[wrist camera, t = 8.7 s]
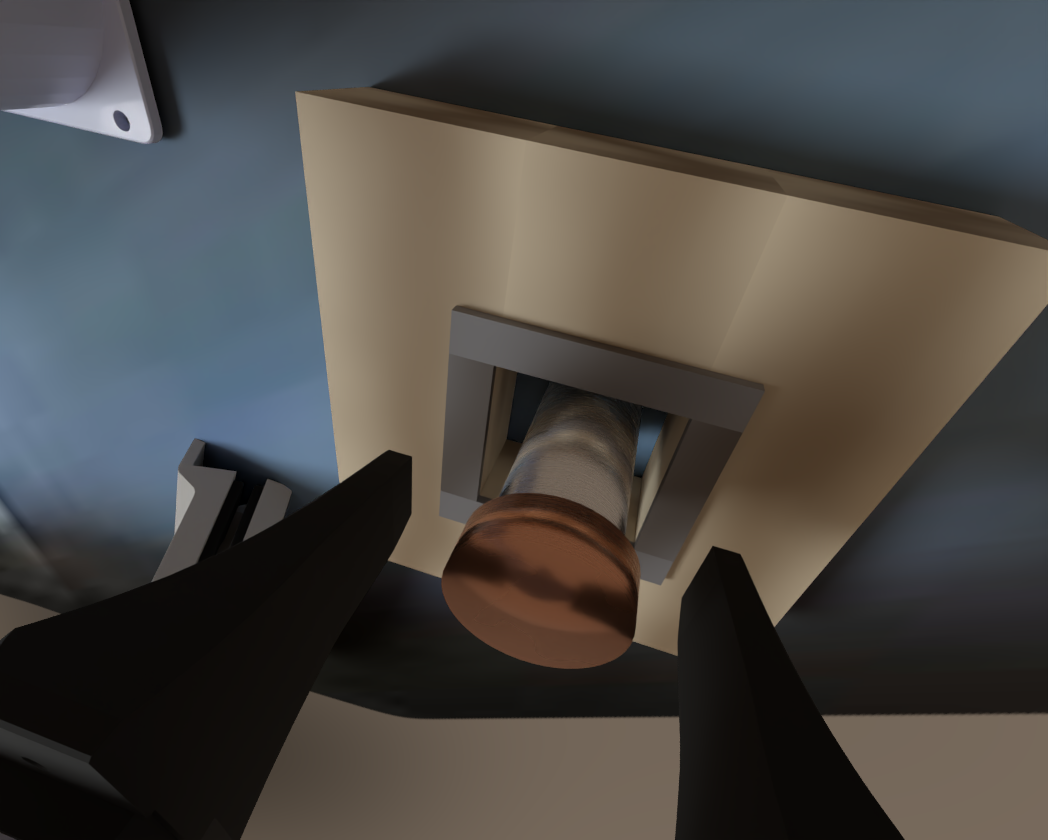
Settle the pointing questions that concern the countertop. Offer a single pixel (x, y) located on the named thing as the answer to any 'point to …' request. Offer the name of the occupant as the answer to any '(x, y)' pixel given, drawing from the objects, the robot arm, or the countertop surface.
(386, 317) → the block
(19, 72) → the robot arm
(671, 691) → the countertop surface
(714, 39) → the countertop surface
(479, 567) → the pin
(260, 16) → the countertop surface
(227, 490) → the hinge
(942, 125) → the countertop surface
